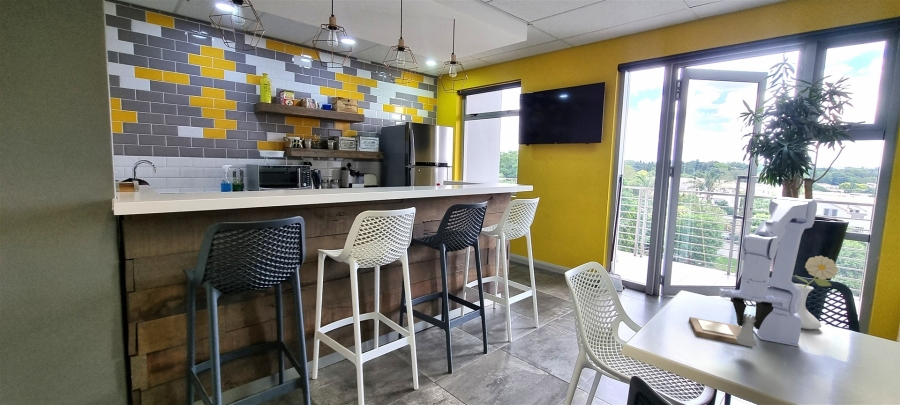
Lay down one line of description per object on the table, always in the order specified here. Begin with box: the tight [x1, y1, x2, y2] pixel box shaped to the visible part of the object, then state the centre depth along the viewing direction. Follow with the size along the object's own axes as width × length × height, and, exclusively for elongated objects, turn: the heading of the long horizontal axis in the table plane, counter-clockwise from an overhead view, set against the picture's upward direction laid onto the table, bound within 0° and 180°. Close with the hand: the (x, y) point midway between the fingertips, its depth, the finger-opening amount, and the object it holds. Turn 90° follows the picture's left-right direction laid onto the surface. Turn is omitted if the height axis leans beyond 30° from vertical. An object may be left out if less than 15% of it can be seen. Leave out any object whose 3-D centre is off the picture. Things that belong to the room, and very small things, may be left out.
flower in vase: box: [794, 255, 839, 330], centre depth 125 cm, size 13×11×25 cm
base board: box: [688, 316, 743, 346], centre depth 118 cm, size 14×12×2 cm
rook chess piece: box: [735, 313, 757, 348], centre depth 103 cm, size 4×4×8 cm
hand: (747, 326), depth 103 cm, fingers closed on rook chess piece, 3 cm apart
